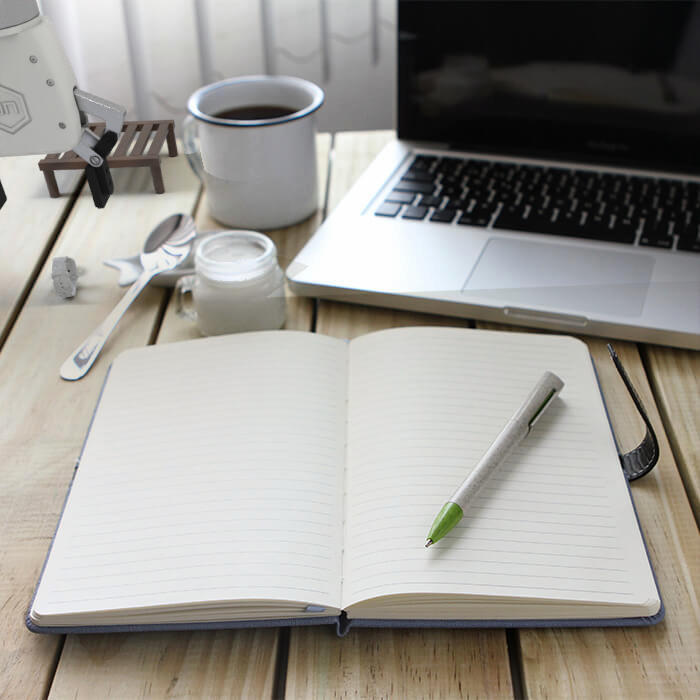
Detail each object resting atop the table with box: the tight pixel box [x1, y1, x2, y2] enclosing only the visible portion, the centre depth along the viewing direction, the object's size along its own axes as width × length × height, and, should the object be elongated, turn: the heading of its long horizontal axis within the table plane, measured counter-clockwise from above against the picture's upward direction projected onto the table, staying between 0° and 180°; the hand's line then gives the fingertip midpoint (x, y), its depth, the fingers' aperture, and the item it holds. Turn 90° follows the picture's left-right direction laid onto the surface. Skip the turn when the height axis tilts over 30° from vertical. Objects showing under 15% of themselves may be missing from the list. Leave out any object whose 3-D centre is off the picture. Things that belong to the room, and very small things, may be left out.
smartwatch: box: [50, 255, 80, 299], centre depth 76 cm, size 4×2×4 cm, turn 10°
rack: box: [37, 119, 179, 199], centre depth 97 cm, size 14×12×4 cm
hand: (51, 205), depth 71 cm, fingers open, 9 cm apart
